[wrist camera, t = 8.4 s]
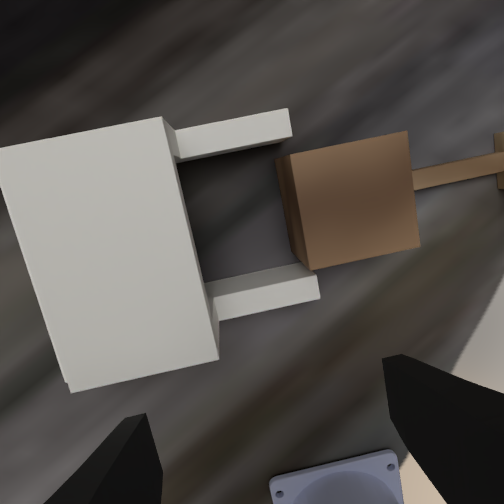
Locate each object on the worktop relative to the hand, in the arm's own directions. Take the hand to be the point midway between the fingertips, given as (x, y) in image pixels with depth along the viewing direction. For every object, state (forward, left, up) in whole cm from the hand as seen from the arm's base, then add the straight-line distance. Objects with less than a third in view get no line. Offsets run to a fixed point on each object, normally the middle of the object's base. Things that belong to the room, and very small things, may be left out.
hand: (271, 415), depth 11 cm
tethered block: (+5, -11, -10) cm, 16 cm away
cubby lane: (+5, +1, -10) cm, 12 cm away
